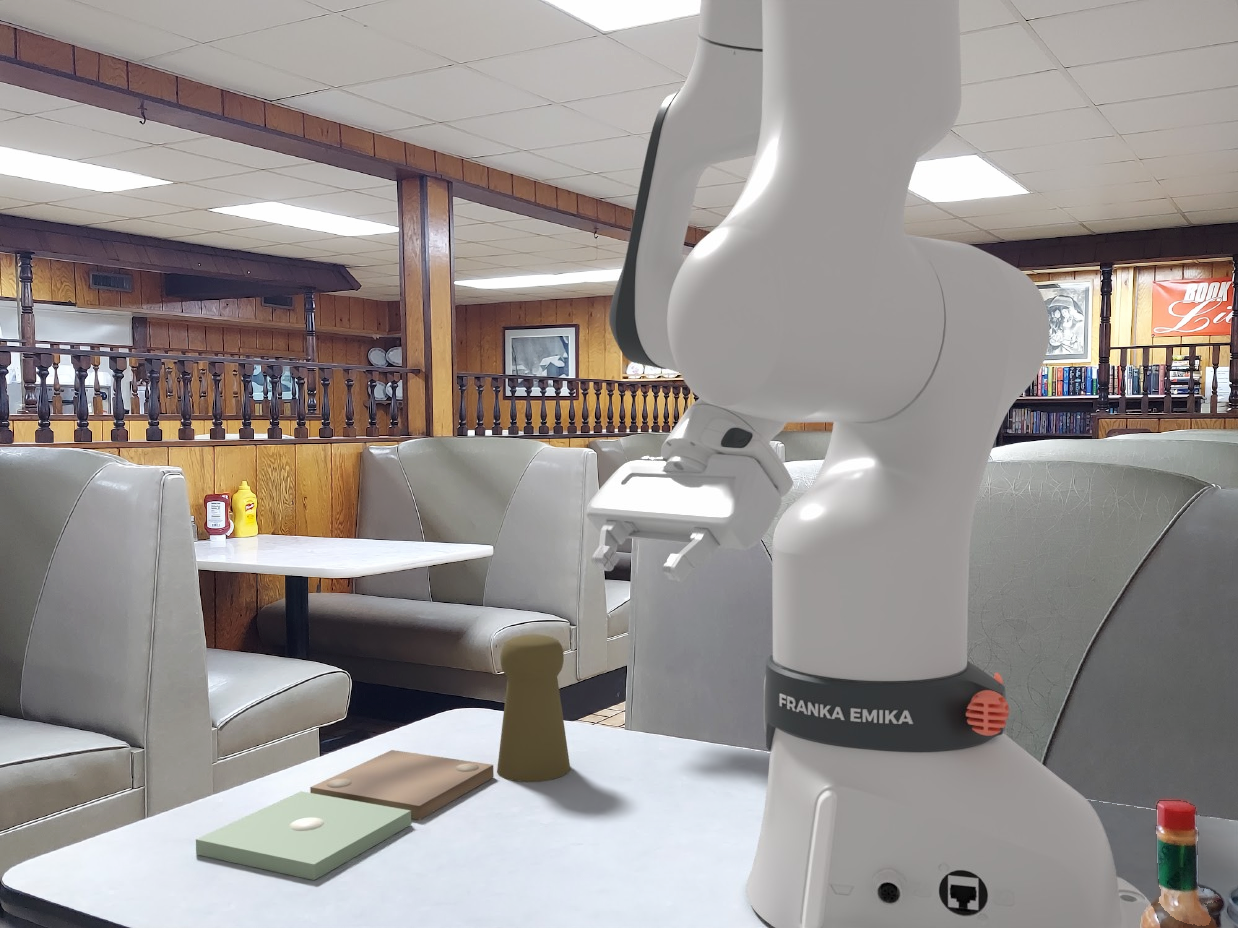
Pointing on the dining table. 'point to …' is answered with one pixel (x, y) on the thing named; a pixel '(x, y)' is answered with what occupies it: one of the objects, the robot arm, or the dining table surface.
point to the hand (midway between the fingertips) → (634, 571)
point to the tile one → (304, 834)
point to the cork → (532, 711)
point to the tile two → (407, 781)
